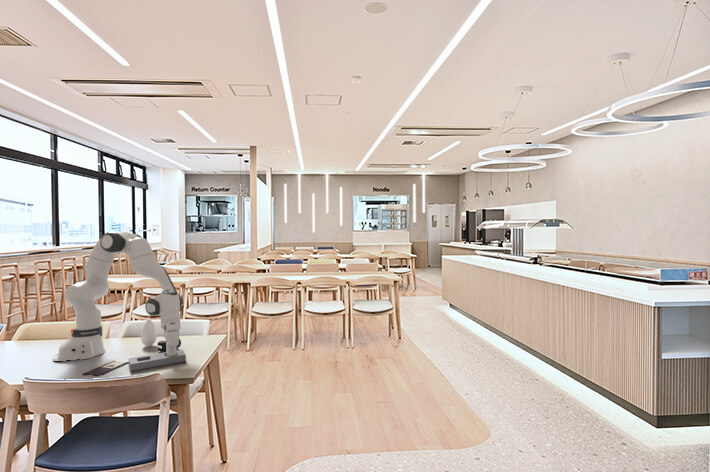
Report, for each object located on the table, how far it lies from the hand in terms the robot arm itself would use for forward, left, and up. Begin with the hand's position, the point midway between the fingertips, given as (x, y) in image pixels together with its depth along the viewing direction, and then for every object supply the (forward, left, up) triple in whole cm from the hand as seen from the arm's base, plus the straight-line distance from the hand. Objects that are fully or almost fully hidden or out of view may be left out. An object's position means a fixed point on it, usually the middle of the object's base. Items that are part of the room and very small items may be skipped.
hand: (171, 350), depth 196 cm
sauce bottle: (-6, +36, -6) cm, 37 cm away
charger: (0, 0, -3) cm, 3 cm away
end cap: (+2, +19, -6) cm, 20 cm away
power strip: (-6, 0, -6) cm, 8 cm away
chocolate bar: (-27, +8, -6) cm, 29 cm away
